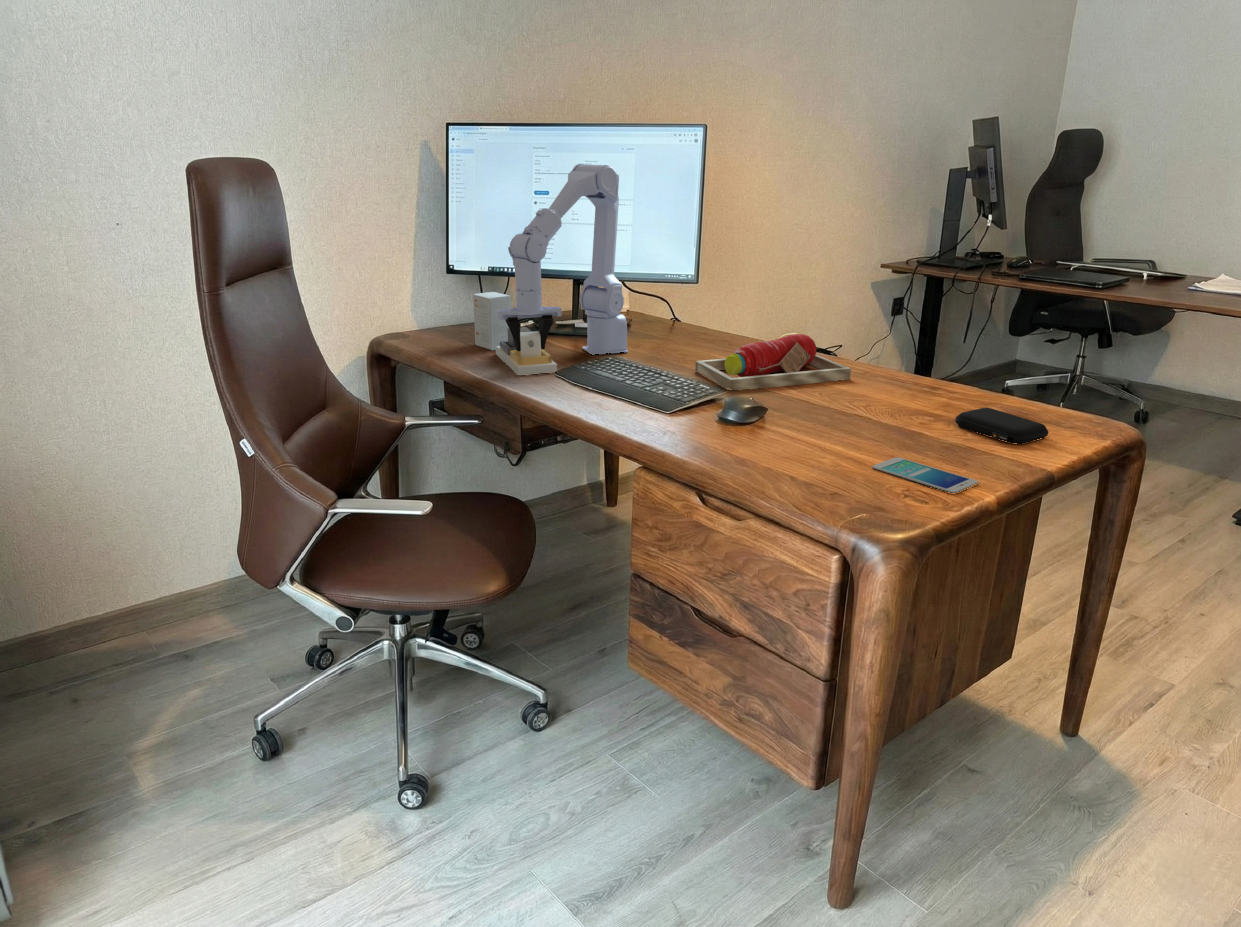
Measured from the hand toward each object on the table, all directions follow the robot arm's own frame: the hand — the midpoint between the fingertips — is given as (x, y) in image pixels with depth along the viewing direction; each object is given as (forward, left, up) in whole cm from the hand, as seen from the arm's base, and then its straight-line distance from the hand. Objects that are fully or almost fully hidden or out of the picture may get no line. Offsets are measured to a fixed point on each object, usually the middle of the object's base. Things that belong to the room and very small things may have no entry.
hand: (530, 349), depth 207 cm
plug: (0, 0, -2) cm, 2 cm away
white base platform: (0, -5, -4) cm, 7 cm away
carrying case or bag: (-68, +74, -5) cm, 100 cm away
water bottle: (-50, +23, -5) cm, 55 cm away
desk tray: (-49, +24, -4) cm, 55 cm away
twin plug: (0, -10, -2) cm, 10 cm away
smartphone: (-41, +88, -5) cm, 97 cm away
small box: (+3, -25, -5) cm, 26 cm away
